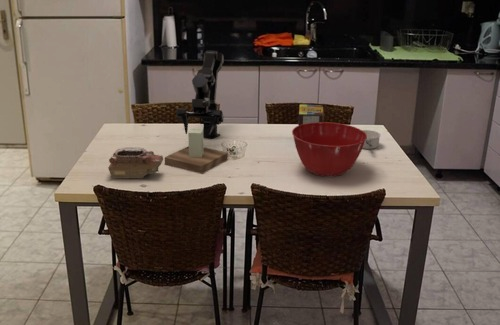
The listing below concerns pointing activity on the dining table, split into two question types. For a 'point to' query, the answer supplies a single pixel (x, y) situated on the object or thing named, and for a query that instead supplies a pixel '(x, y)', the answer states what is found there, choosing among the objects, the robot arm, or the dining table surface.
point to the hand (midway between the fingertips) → (197, 134)
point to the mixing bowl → (328, 147)
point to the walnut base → (196, 160)
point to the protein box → (310, 114)
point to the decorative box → (133, 163)
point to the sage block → (196, 143)
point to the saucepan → (371, 139)
